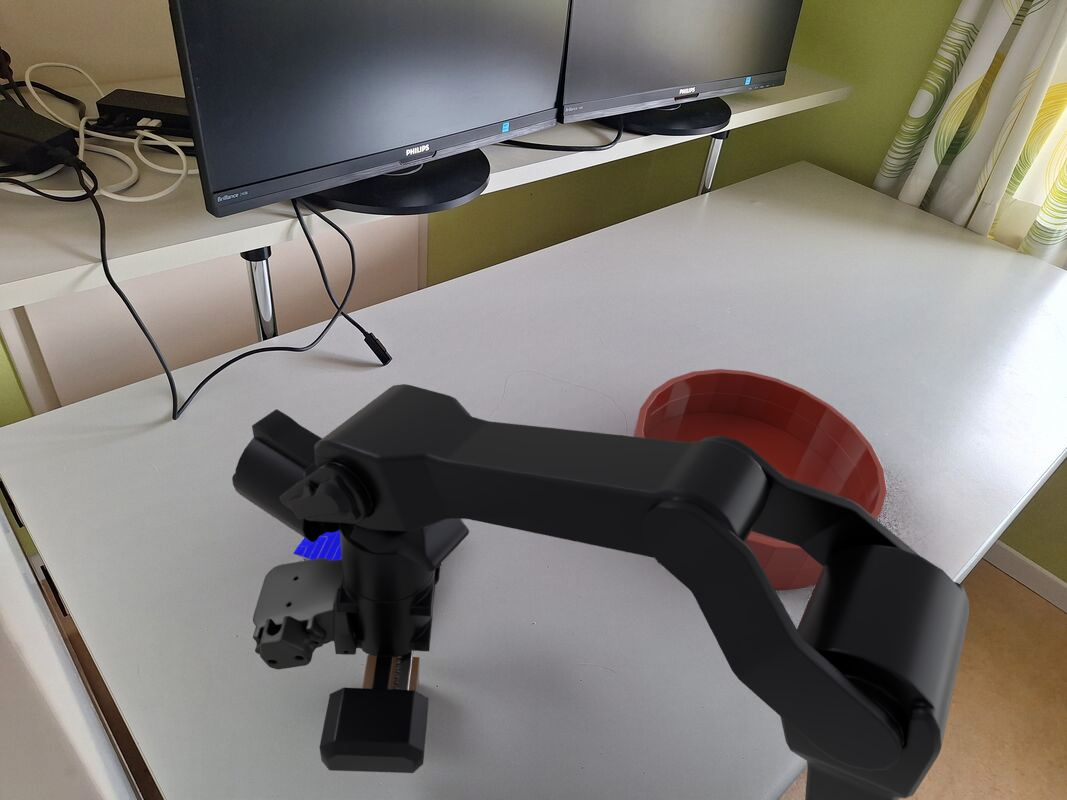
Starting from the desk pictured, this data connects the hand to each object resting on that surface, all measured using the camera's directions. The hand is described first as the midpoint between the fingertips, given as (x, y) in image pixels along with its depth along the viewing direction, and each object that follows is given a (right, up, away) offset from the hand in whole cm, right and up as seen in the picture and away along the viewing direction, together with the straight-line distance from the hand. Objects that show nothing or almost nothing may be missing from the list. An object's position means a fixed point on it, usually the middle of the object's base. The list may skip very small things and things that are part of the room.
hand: (391, 687), depth 58 cm
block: (0, -2, +2) cm, 3 cm away
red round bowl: (+33, +12, +24) cm, 43 cm away
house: (-5, +8, +13) cm, 16 cm away
